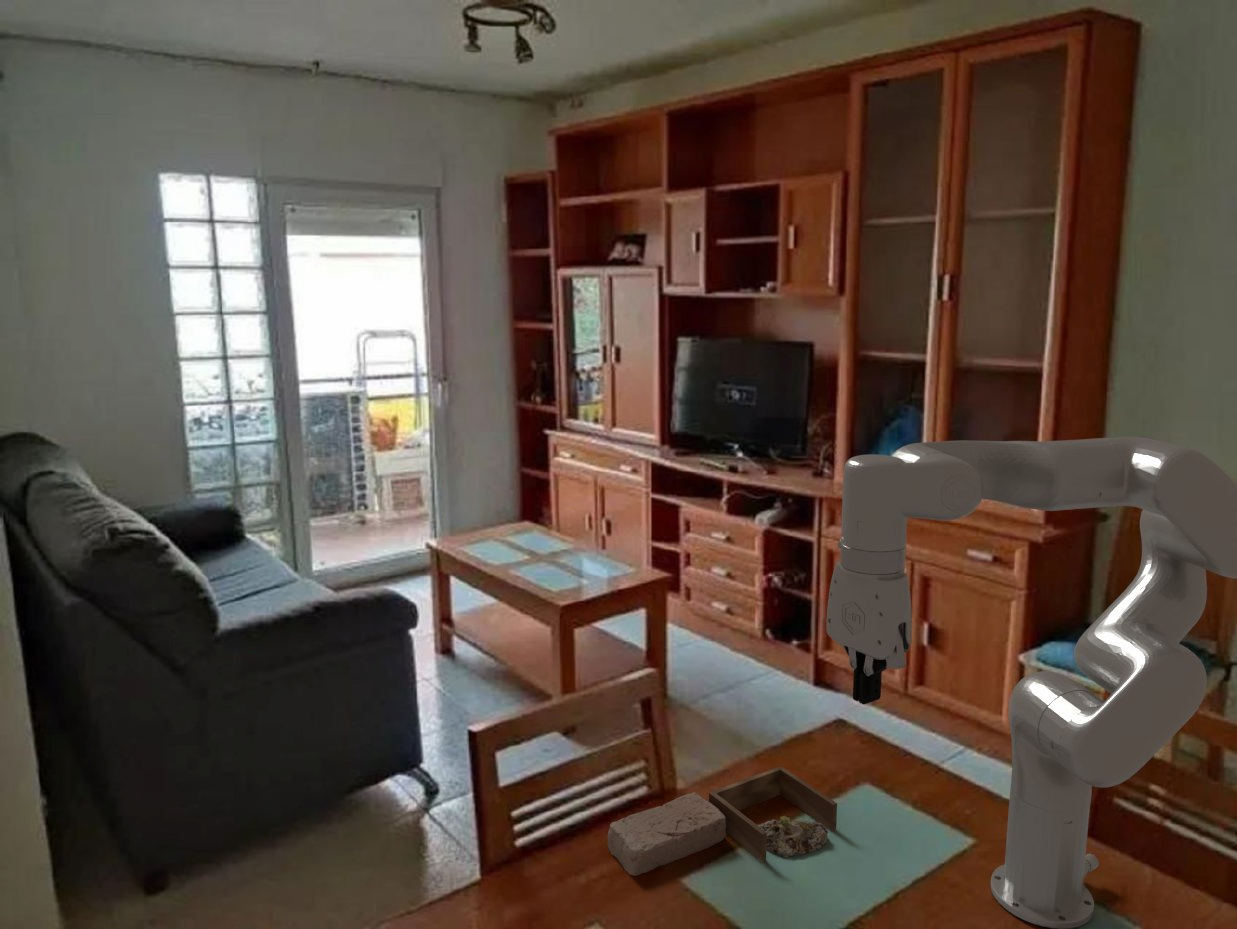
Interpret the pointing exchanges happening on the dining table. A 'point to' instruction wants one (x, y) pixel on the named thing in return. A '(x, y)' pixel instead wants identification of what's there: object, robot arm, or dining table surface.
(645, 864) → the brick
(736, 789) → the box
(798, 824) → the mineral rock
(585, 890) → the dining table surface
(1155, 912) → the dining table surface
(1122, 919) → the dining table surface
